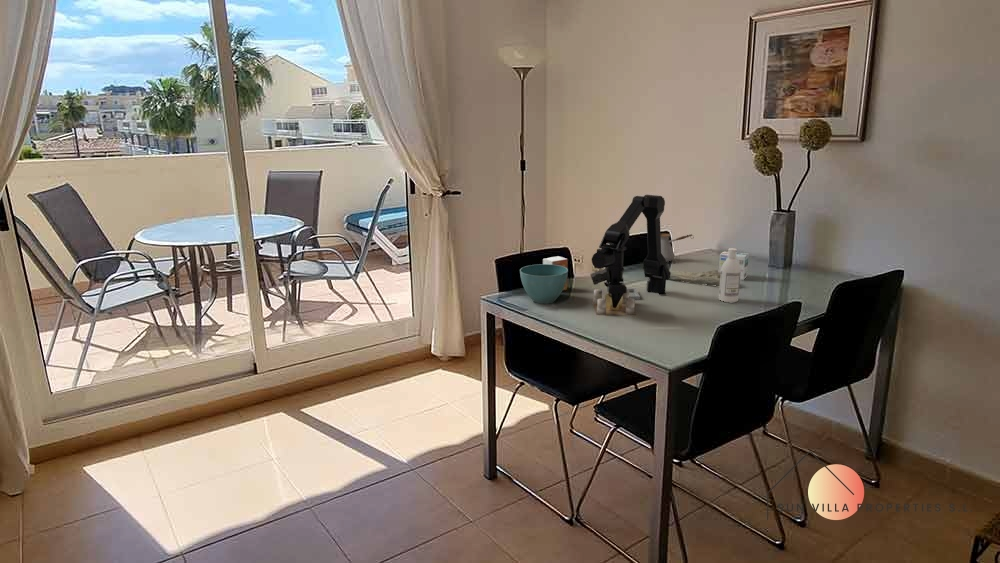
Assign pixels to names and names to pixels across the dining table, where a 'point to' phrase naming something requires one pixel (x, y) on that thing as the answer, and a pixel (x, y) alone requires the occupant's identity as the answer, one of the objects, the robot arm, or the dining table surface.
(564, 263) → the small box
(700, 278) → the elongated rock
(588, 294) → the dining table surface
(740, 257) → the light bulb box
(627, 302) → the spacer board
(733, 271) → the bath foam
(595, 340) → the dining table surface
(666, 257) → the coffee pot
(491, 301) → the dining table surface
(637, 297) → the tray
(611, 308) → the nut
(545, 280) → the teal bowl
